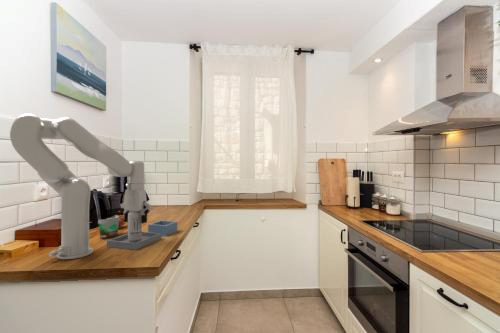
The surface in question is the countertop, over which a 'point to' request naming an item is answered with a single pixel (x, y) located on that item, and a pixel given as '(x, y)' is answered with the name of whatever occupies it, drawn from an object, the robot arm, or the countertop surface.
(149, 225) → the blue square box
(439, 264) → the countertop surface
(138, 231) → the energy drink can
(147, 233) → the tray
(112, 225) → the food container
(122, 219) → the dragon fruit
